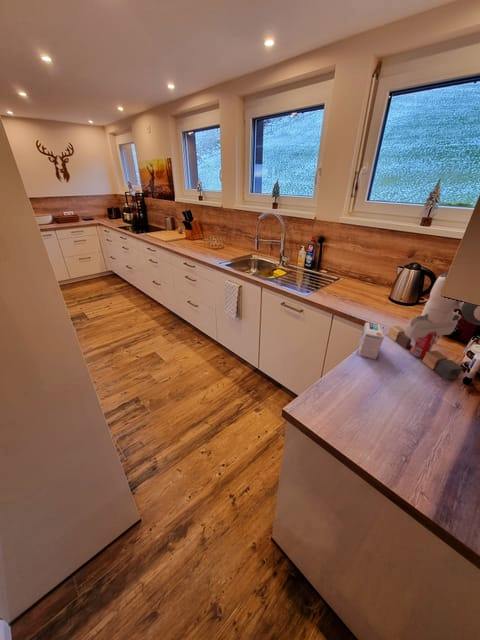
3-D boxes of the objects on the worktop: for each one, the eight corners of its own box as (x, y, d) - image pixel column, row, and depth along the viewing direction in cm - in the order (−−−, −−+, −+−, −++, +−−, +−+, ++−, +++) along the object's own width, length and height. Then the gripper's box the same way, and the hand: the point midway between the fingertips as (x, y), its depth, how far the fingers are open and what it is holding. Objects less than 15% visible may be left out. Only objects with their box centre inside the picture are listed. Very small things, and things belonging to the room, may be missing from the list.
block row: (396, 334, 123) (399, 325, 121) (457, 378, 97) (463, 367, 94) (387, 335, 122) (390, 326, 120) (446, 380, 96) (452, 369, 93)
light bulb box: (358, 342, 116) (365, 321, 111) (375, 346, 114) (382, 324, 108) (358, 355, 107) (365, 333, 102) (376, 360, 105) (384, 337, 100)
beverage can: (425, 352, 111) (436, 328, 105) (428, 360, 106) (440, 335, 100) (408, 348, 113) (418, 324, 107) (410, 356, 108) (421, 331, 102)
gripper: (420, 319, 95) (407, 351, 102) (465, 316, 100) (449, 346, 106) (407, 312, 101) (395, 342, 107) (450, 308, 105) (436, 337, 112)
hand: (422, 344), depth 107 cm, fingers open, 8 cm apart
